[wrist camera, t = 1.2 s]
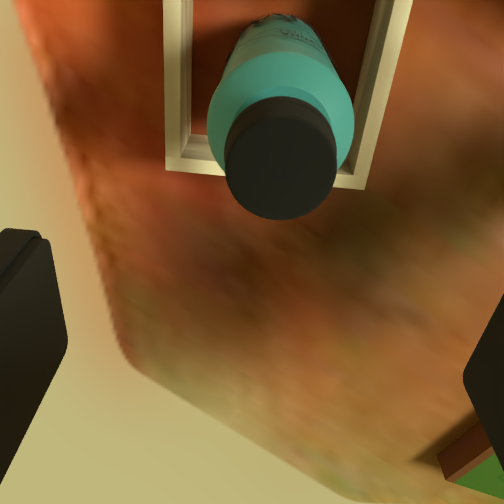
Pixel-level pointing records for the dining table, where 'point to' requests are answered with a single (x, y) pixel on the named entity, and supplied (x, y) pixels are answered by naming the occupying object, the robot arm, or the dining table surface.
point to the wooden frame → (365, 103)
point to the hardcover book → (473, 463)
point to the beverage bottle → (280, 119)
